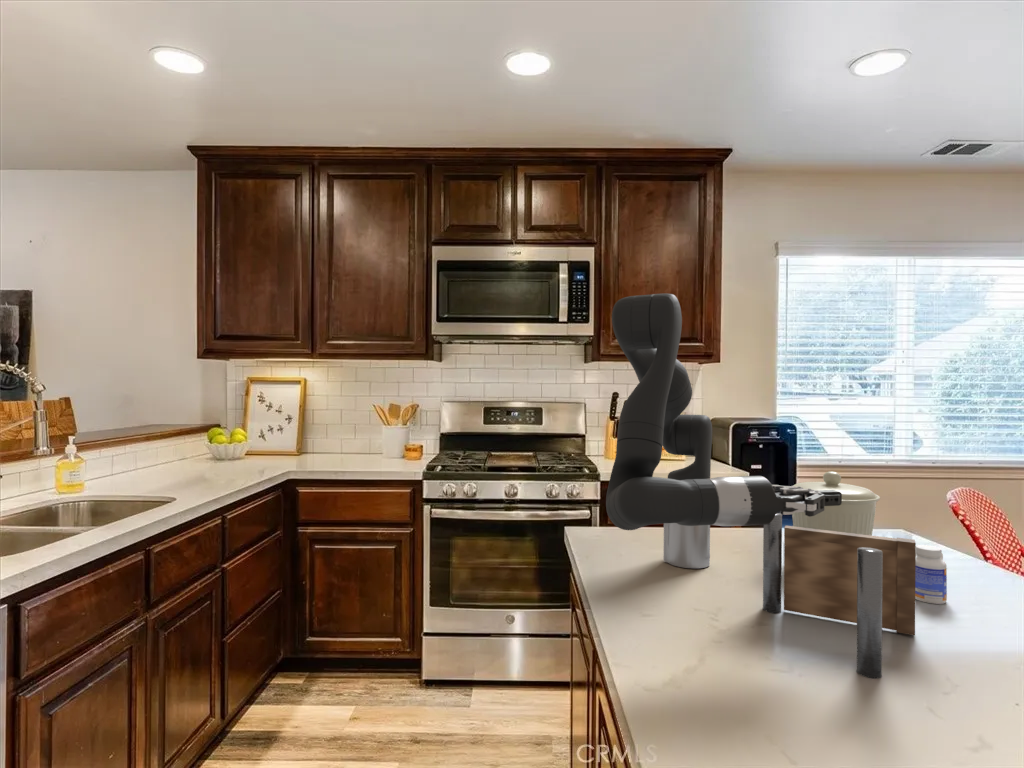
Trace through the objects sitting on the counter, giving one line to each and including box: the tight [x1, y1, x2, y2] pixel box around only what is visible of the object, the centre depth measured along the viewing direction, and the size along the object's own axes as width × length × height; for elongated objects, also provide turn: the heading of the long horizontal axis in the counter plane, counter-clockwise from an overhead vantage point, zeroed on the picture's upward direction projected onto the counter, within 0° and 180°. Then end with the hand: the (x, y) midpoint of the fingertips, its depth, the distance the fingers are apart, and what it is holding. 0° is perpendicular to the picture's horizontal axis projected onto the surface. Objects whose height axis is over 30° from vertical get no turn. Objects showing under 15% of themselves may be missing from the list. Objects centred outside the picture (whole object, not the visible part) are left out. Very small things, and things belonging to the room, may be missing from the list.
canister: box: [791, 471, 881, 536], centre depth 131 cm, size 18×18×21 cm
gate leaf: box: [783, 525, 917, 636], centre depth 100 cm, size 19×2×15 cm, turn 59°
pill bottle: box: [915, 544, 948, 605], centre depth 112 cm, size 5×5×10 cm
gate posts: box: [762, 512, 883, 679], centre depth 94 cm, size 26×3×17 cm, turn 8°
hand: (838, 497), depth 95 cm, fingers closed
